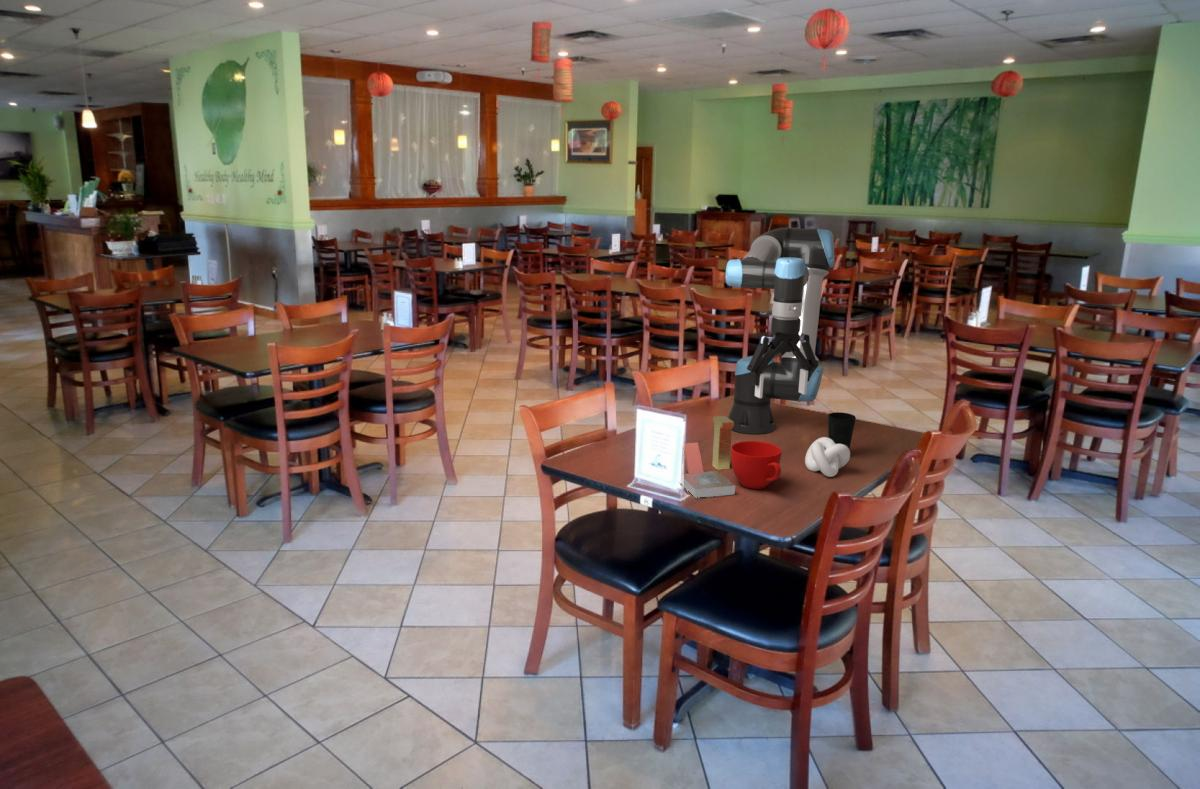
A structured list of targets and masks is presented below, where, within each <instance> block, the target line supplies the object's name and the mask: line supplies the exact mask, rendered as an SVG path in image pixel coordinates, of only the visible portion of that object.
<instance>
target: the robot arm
mask: <svg viewBox="0 0 1200 789" xmlns="http://www.w3.org/2000/svg"><path fill="white" fill-rule="evenodd" d="M834 240H835V239H834V234H833V232H832V231H831V230H829V229H823V228H800V227H799V228H798V227H797V228H796V227H794V228H793V227H780V228H775V229H771V230H768V231H765V232H764V233H762V234H761V235H759V236H758V237H756V238H755V239H754V241H753V242H752V243H751V245H750V250H749V251H748V252H747V253H746V255H744V257H743V258H742V259H739V258H737V259H729V260H728V262H727V263H726V267H725V283H726V285H727V286H729V287H733V288H738V289H739V288H745V289H746V288H747V289H749V288H750V289H768V290H769V289H770V290H773V298H772V309H771V315H772V316H773V317H772V318H771V322H770V323H771V325H770V326H771V327H770V330H771V335H770V336H765V335H760V337H759V343H758V345H757V347H756V348H755V351H754V353H753V355H750V356H745V357H742V358H740V359H738V360H737V362H736V364H735V370H734V371H735V372H734V376H735V377H734V391H733V392H734V394H733V404H732V406H731V409H730V412H729V414H728V416H727V418H729V419H730V420H732V421H733V422H734V427H732V431H734V432H736V433H737V432H738V433H742V434H747V435H748V434H749V435H762V434H768V433H771V432H774V430H775V419H774V416H773V415H774V414H773V412H772V408H771V399H772V400H773V399H774V400H783V401H793V402H801V403H803V402H805V403H811V402H814V401H815V400H816V398H817V396H818V393H819V390H820V385H821V382H822V376H823V371H824V367H823V366H821V365H820V359H819V358H818V357H817V355H816V346H817V336H818V326H819V317H820V309H821V308H820V307H821V299H822V290H823V289H822V288H823V280H824V278H825V277H826V276H827V275H829V273H830V272H829V271H830V269H832V268H834V267H835V241H834ZM768 346H769V347H768ZM766 350H767V351H766ZM779 353H780V354H782V353H783V355H781V357H780V362H777V361H775V359H774V358H775V356H777V355H778V354H779Z"/></svg>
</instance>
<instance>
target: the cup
mask: <svg viewBox="0 0 1200 789" xmlns="http://www.w3.org/2000/svg"><path fill="white" fill-rule="evenodd" d="M827 418H828V422H827V424H828V425H827V426H828V427H827V428H828V432H827V433H828V435H827V436H828V438H830V439H832V440H833V441H834V443H835V444H843V445H846V446H847V447H848V448H849V450H850V448H851V444H852V438H853V434H854V428H855V422H856V419H857V418H856V415H854V414H851V413H848V412H839V411H837V412H830V413H829V414H828V415H827ZM838 456H839V455H838Z"/></svg>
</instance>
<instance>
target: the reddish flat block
mask: <svg viewBox="0 0 1200 789" xmlns="http://www.w3.org/2000/svg"><path fill="white" fill-rule="evenodd" d="M699 447H700V446H699V442H688V443H687V442H686V443H685V451H684V450H683V452H684V457H685V465H686V468H687V472H688V473H697V472H705V471H704V466H703V462H702V456H701V452H700V448H699Z"/></svg>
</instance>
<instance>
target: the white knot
mask: <svg viewBox="0 0 1200 789" xmlns="http://www.w3.org/2000/svg"><path fill="white" fill-rule="evenodd" d="M838 455H839V456H838ZM850 457H851V450H850V449H849V448H848V447H847V446H846V445H843V444H835V443H834V441H833V440H832V439H830V438H828V437H826V436H822V437H819V438H817V439H815V440H814V441H813V442H812V443H811V445H809V448H807V451H806V453H805V457H804V463H805V466H806V468H807V469H808V470H809V471H811V472H818V471H820V472H821V473H822V474H823V475H824V476H825V477H827V478H832V477H835V476H836V475H837V474H838V473H839V469H841V468H843V467H844V466H845V465H846V464H847V463H848V462H849V460H850V459H851V458H850Z"/></svg>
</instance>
